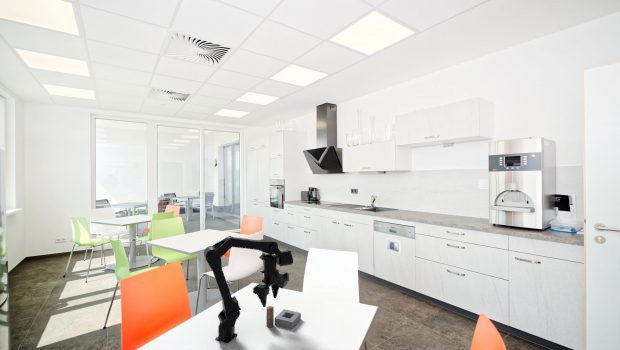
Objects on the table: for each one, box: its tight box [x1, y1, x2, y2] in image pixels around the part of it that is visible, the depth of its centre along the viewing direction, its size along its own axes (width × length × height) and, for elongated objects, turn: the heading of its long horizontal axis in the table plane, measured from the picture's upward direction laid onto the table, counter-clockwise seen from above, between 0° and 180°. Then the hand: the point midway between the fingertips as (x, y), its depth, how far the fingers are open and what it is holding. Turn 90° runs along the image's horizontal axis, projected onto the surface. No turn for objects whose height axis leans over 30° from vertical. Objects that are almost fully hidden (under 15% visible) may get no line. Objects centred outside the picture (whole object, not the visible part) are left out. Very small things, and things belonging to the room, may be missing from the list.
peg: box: [265, 305, 275, 329], centre depth 124 cm, size 3×3×8 cm
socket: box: [274, 308, 302, 330], centre depth 127 cm, size 9×9×3 cm
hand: (269, 302), depth 124 cm, fingers open, 9 cm apart
